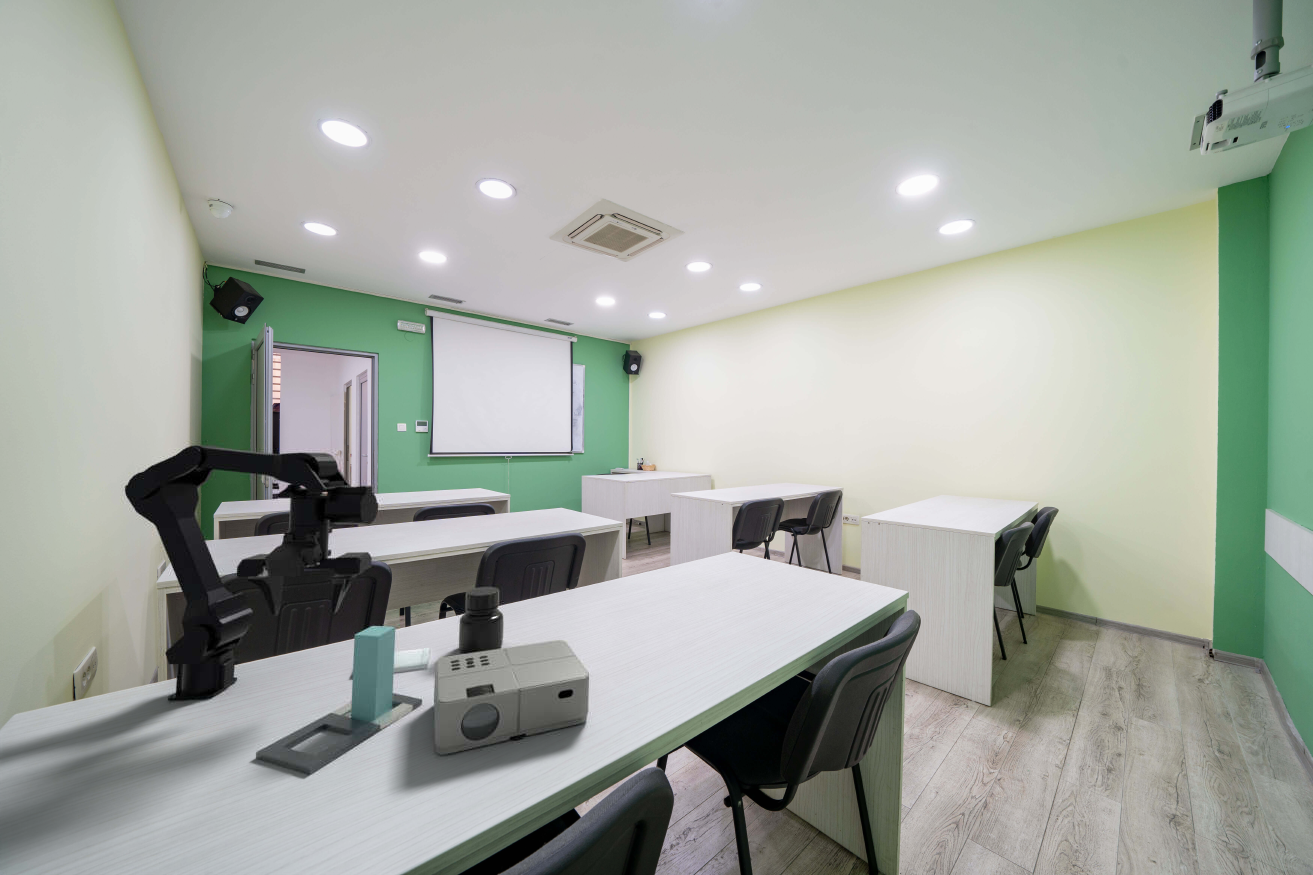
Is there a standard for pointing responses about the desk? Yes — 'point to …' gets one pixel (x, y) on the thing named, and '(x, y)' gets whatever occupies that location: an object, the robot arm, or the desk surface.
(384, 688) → the plug
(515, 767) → the desk surface
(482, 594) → the ink bottle
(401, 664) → the hard drive
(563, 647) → the projector
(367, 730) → the panel
